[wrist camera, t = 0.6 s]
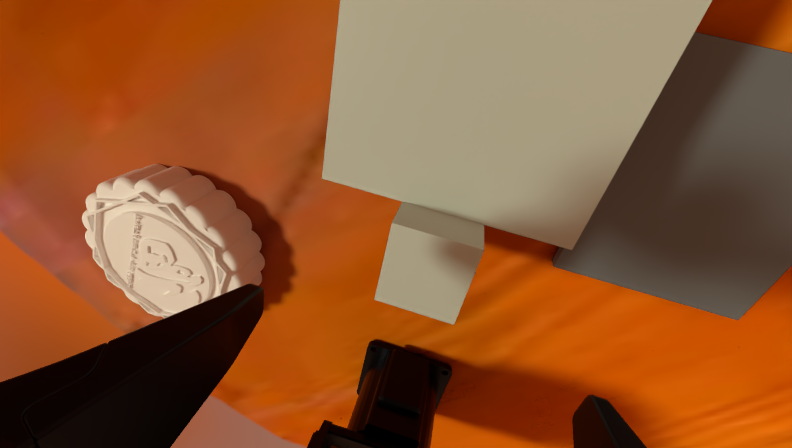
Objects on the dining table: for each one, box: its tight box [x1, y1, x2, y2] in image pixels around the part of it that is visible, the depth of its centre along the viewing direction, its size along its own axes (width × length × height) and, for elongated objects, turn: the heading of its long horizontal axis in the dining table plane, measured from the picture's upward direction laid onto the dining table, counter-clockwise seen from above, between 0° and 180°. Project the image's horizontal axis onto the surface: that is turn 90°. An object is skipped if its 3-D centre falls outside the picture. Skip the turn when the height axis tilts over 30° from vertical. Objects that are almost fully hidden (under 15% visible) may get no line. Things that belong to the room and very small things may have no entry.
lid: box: [322, 0, 712, 325], centre depth 13 cm, size 17×11×4 cm, turn 168°
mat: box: [552, 32, 792, 320], centre depth 17 cm, size 12×10×1 cm
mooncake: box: [82, 164, 265, 318], centre depth 25 cm, size 12×12×4 cm
